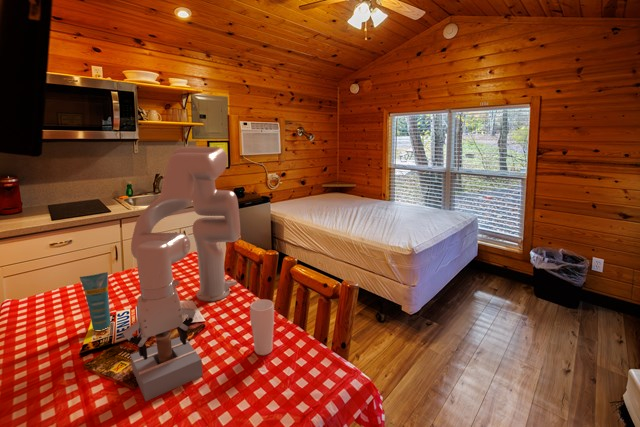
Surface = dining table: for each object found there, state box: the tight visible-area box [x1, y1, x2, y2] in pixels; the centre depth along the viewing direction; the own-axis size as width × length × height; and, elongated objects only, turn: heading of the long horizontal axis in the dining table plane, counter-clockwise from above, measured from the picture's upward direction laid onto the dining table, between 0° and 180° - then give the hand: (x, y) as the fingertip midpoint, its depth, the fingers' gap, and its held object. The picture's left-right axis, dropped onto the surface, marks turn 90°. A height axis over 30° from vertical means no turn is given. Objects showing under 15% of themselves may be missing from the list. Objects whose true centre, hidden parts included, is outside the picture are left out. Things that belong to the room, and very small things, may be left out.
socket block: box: [130, 336, 204, 402], centre depth 90 cm, size 14×14×5 cm
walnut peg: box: [155, 330, 173, 364], centre depth 89 cm, size 4×4×12 cm
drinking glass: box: [249, 298, 275, 356], centre depth 99 cm, size 7×7×15 cm
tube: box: [79, 271, 111, 331], centre depth 109 cm, size 7×5×19 cm, turn 123°
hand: (164, 349), depth 89 cm, fingers open, 9 cm apart
